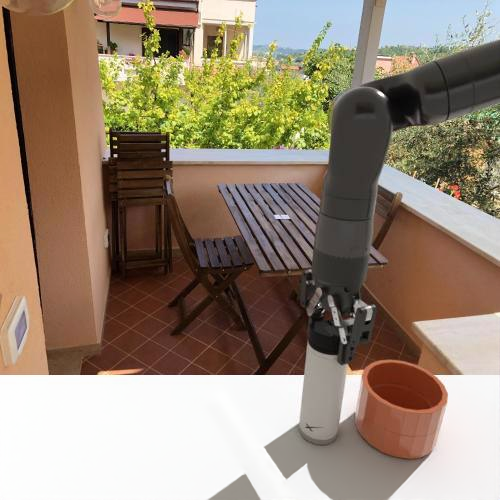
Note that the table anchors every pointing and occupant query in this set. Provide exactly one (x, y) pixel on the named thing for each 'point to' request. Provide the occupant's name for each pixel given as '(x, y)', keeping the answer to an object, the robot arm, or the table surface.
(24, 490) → the table surface
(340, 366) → the travel mug
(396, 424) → the planter
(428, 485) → the table surface
